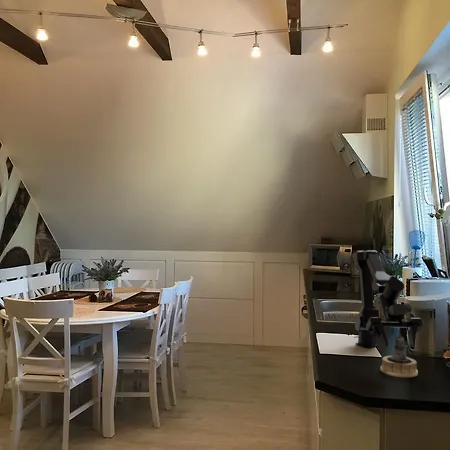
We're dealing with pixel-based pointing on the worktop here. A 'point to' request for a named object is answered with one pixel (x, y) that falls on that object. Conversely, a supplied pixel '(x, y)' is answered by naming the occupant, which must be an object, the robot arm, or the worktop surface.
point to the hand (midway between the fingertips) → (400, 346)
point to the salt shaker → (399, 351)
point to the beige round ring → (399, 368)
